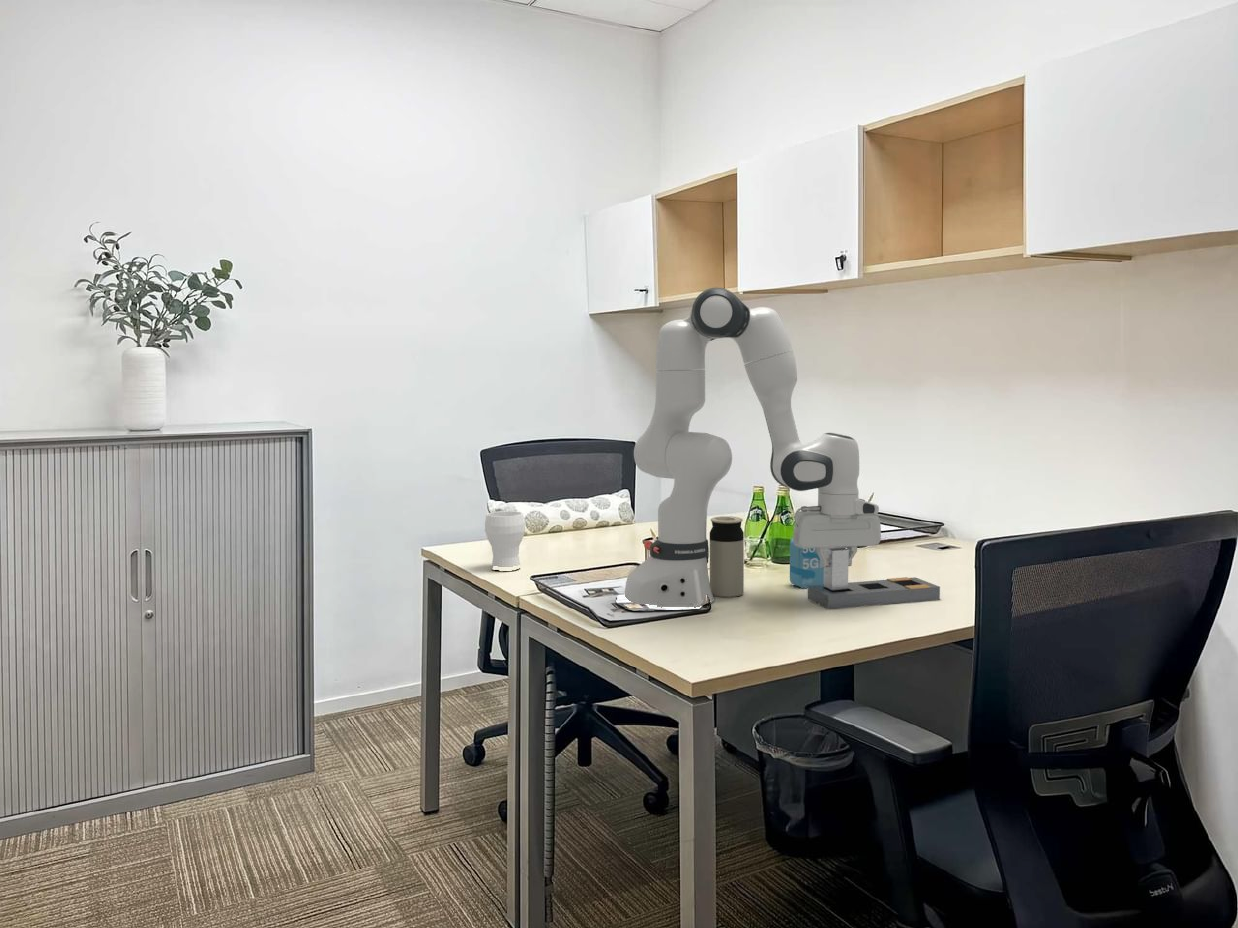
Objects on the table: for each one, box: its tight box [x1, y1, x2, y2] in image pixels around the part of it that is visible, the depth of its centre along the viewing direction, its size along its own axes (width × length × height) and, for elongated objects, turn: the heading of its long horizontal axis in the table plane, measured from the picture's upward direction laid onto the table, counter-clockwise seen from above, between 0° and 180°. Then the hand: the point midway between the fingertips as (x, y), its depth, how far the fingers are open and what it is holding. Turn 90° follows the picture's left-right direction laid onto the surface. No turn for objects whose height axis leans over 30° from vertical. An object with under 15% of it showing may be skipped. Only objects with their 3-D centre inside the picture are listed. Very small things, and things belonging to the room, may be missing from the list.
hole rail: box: [807, 576, 941, 610], centre depth 217 cm, size 28×10×3 cm, turn 105°
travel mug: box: [709, 515, 745, 598], centre depth 223 cm, size 8×8×18 cm
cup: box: [484, 510, 526, 567], centre depth 254 cm, size 11×11×15 cm
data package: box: [789, 537, 824, 589], centre depth 231 cm, size 12×4×12 cm, turn 110°
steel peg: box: [824, 547, 849, 590], centre depth 214 cm, size 4×4×9 cm
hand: (836, 566), depth 214 cm, fingers closed on steel peg, 4 cm apart
